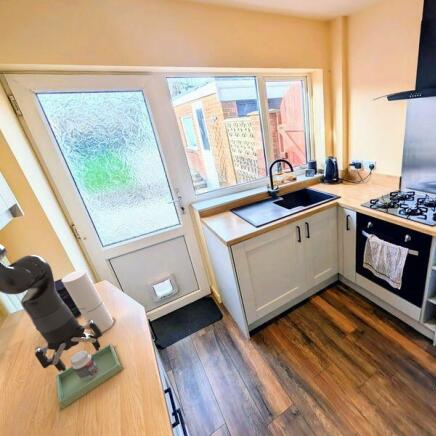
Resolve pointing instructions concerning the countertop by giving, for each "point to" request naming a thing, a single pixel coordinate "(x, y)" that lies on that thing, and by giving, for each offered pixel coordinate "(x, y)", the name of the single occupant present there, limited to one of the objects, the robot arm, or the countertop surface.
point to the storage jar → (66, 297)
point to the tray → (75, 388)
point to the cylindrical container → (87, 299)
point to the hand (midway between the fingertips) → (81, 358)
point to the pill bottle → (84, 365)
